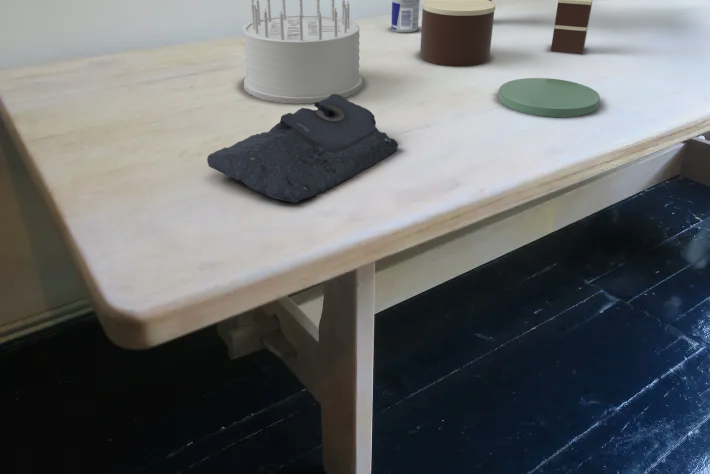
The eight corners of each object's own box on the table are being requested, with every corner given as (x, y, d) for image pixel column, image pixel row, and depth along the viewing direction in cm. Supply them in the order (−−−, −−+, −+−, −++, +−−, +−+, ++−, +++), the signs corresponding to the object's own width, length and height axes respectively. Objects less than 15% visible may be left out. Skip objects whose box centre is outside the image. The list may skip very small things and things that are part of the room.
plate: (601, 91, 99) (602, 83, 99) (595, 122, 88) (597, 114, 87) (507, 81, 104) (508, 73, 103) (490, 109, 92) (491, 101, 92)
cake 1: (366, 102, 95) (368, 5, 88) (239, 104, 94) (231, 6, 87) (357, 66, 110) (358, -18, 103) (248, 68, 109) (241, -17, 102)
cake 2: (495, 51, 119) (501, -1, 114) (482, 69, 109) (488, 13, 104) (429, 45, 123) (432, -6, 118) (410, 62, 113) (413, 7, 108)
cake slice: (584, 48, 121) (593, -3, 116) (582, 54, 118) (591, 1, 113) (553, 45, 122) (560, -6, 118) (550, 51, 119) (558, -1, 115)
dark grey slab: (186, 174, 73) (181, 134, 71) (311, 118, 89) (310, 83, 86) (292, 213, 66) (290, 169, 63) (409, 144, 81) (410, 107, 79)
